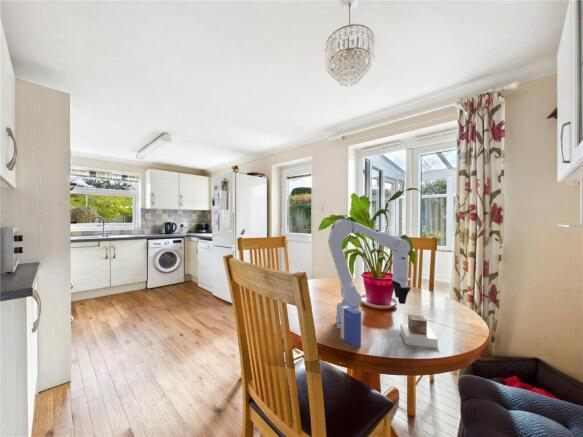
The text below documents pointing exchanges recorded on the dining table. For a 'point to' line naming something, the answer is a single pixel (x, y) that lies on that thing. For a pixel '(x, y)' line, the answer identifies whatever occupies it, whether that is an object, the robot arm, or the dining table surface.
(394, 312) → the dining table surface
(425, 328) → the walnut cube
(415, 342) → the base block
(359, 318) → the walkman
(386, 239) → the robot arm
